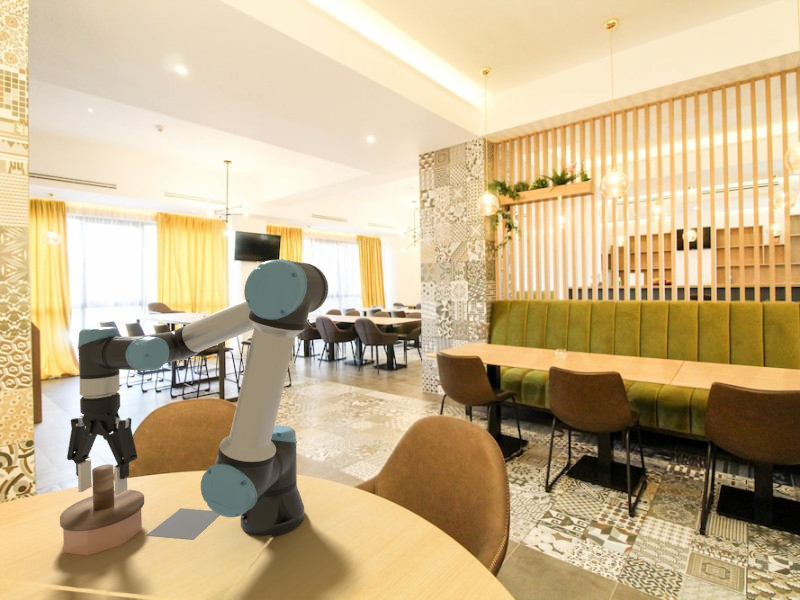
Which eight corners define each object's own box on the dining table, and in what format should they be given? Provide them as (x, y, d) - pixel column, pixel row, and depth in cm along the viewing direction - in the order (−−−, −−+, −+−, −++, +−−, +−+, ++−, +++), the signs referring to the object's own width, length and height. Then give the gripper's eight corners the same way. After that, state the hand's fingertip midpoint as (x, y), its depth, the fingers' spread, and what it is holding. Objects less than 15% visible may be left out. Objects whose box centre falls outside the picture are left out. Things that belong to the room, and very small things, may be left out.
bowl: (154, 522, 103) (154, 498, 103) (105, 559, 89) (104, 531, 89) (103, 517, 106) (102, 494, 105) (47, 553, 91) (46, 526, 91)
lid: (159, 496, 104) (158, 456, 104) (105, 533, 88) (104, 486, 88) (103, 492, 106) (101, 452, 106) (40, 528, 91) (38, 481, 90)
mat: (223, 513, 107) (223, 511, 107) (193, 542, 95) (193, 539, 95) (180, 510, 109) (180, 508, 109) (146, 537, 97) (146, 535, 97)
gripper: (154, 391, 99) (156, 485, 99) (74, 389, 102) (77, 480, 102) (129, 399, 91) (131, 501, 92) (44, 396, 94) (47, 495, 95)
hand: (103, 490), depth 97 cm, fingers open, 9 cm apart
